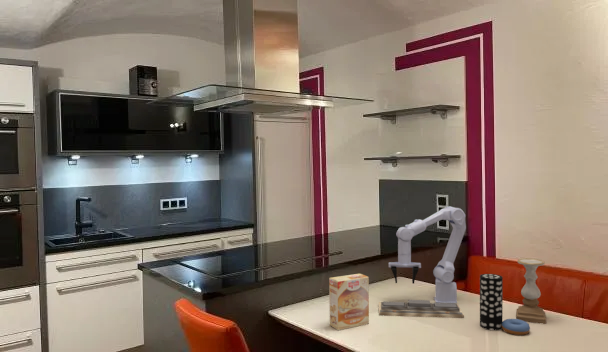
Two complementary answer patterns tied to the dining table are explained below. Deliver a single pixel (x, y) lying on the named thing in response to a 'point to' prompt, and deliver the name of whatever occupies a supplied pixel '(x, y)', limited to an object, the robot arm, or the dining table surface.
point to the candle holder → (531, 294)
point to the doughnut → (515, 326)
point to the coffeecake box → (349, 301)
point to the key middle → (419, 303)
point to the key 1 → (394, 304)
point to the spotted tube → (491, 301)
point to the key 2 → (445, 305)
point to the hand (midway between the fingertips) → (404, 282)
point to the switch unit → (420, 311)
